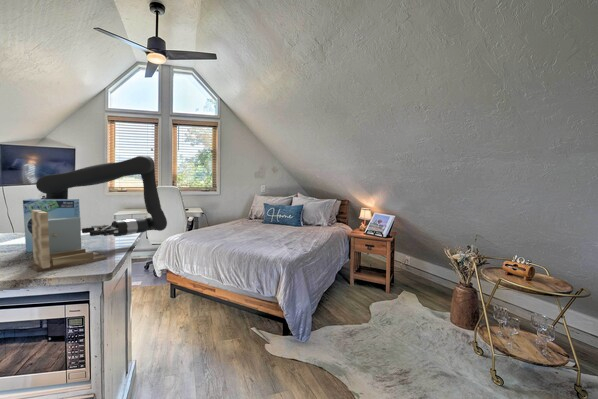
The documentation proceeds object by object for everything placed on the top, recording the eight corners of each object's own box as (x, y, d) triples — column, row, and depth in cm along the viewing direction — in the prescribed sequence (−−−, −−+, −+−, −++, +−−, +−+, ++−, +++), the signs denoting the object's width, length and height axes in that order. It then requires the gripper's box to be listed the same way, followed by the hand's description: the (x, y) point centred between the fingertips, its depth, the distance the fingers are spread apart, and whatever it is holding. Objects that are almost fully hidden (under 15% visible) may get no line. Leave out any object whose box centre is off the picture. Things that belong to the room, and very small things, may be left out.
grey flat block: (43, 258, 122) (41, 219, 121) (77, 252, 132) (76, 216, 130) (47, 261, 119) (45, 221, 118) (82, 255, 129) (81, 218, 127)
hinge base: (29, 265, 113) (26, 210, 111) (95, 254, 131) (94, 206, 129) (38, 272, 106) (35, 213, 105) (106, 258, 124) (105, 208, 122)
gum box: (81, 248, 139) (80, 199, 137) (76, 251, 134) (74, 200, 132) (32, 249, 135) (29, 198, 133) (24, 252, 130) (22, 199, 128)
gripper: (117, 218, 149) (79, 221, 136) (131, 221, 141) (92, 226, 128) (117, 233, 150) (79, 238, 136) (132, 237, 141) (93, 243, 128)
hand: (86, 232), depth 132 cm, fingers open, 8 cm apart
